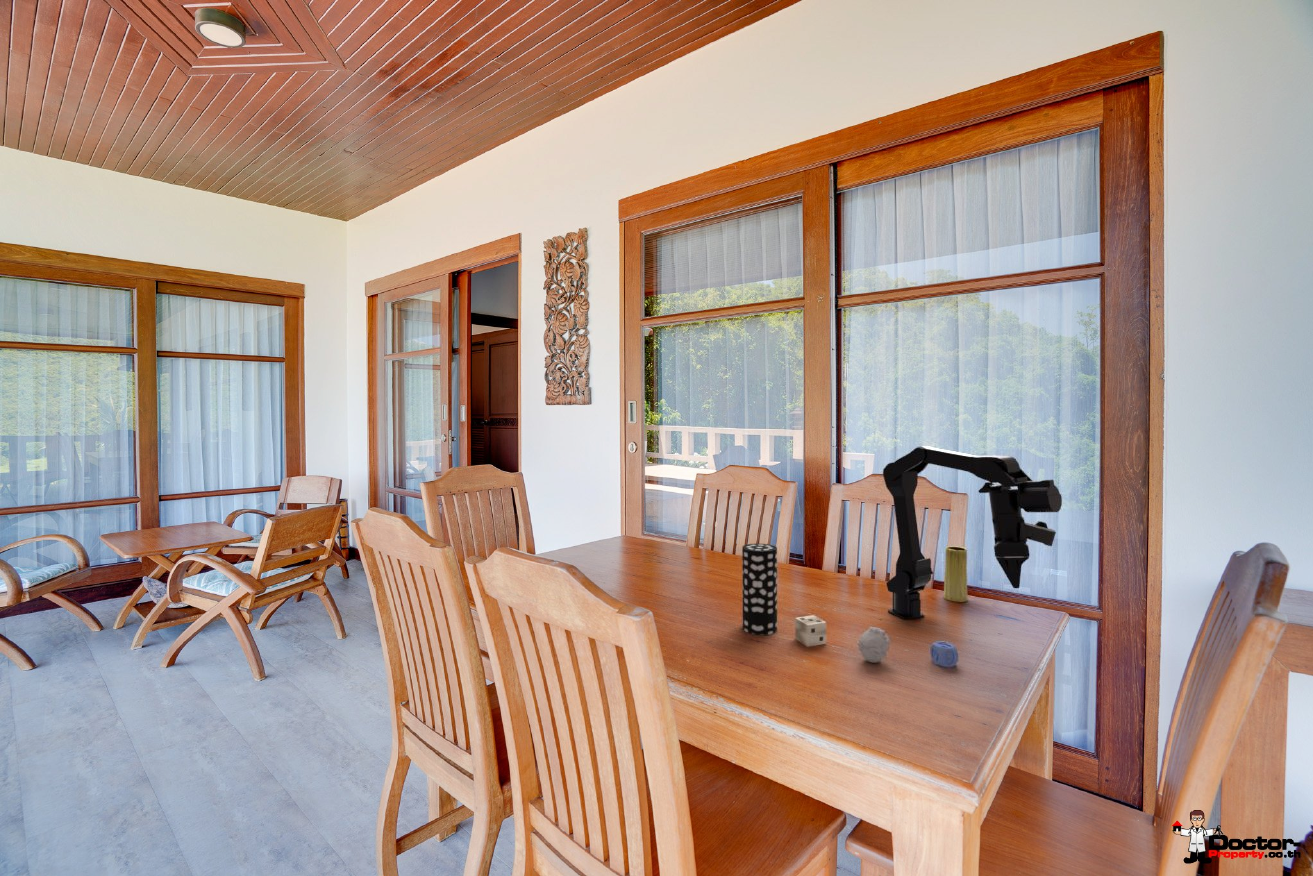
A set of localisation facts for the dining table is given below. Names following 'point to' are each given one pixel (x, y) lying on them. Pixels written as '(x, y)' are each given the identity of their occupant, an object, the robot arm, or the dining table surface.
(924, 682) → the dining table surface
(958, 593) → the vase
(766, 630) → the white-spotted black cylinder
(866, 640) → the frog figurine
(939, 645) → the decorative dice
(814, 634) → the birch pip block
